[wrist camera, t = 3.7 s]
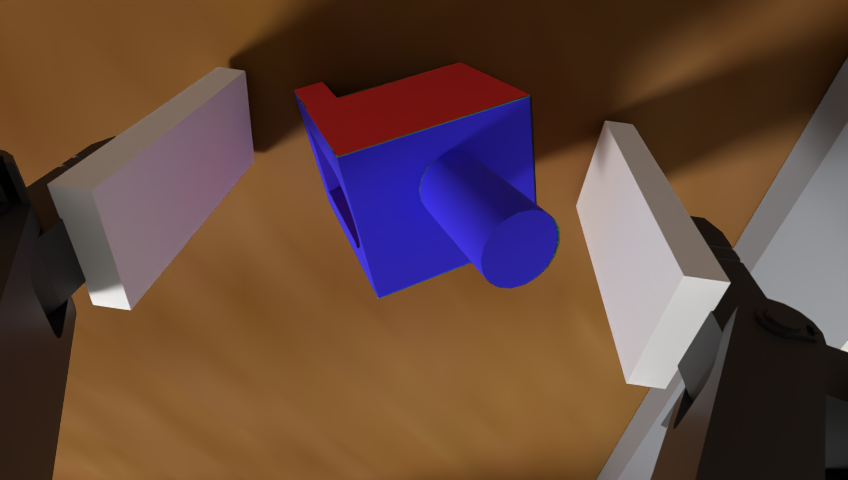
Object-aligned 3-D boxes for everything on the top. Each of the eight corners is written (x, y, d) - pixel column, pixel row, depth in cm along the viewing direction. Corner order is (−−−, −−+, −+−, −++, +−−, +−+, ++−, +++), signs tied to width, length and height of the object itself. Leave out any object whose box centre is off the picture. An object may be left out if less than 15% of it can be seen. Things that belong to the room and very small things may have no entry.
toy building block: (451, 161, 16) (614, 302, 10) (328, 202, 16) (421, 387, 9) (434, 49, 14) (624, 138, 8) (292, 90, 14) (378, 226, 7)
